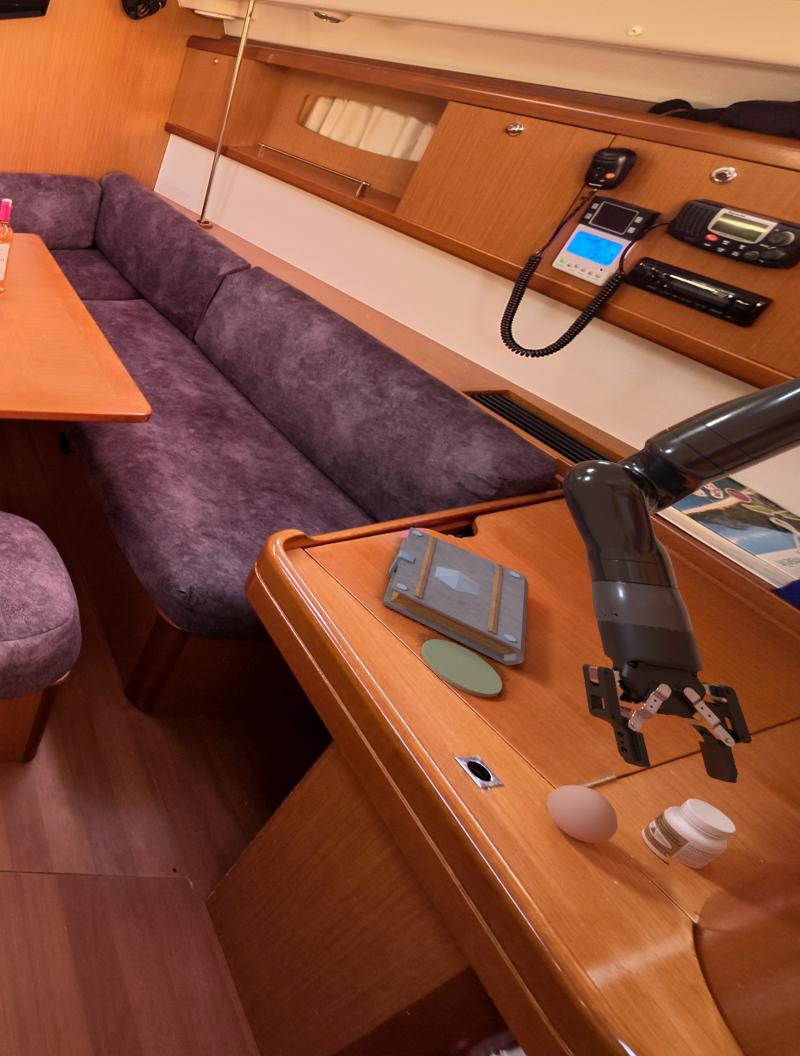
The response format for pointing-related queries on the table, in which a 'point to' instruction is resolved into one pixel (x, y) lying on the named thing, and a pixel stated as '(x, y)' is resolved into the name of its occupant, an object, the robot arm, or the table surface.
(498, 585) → the book
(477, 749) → the table surface
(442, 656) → the coaster
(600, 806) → the egg
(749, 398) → the robot arm
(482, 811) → the table surface
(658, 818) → the pill bottle
